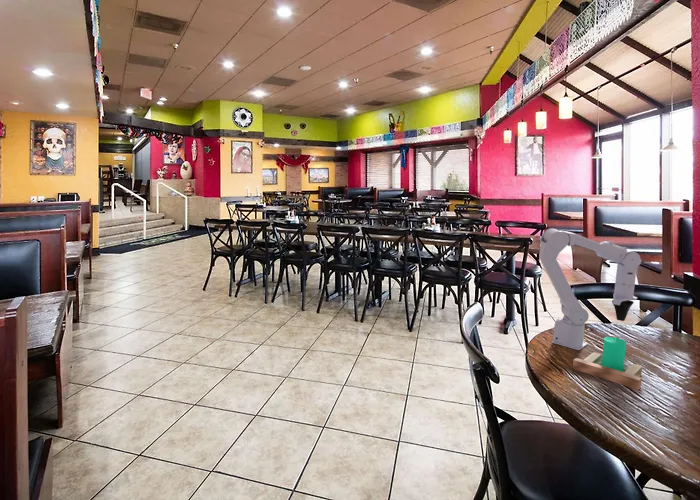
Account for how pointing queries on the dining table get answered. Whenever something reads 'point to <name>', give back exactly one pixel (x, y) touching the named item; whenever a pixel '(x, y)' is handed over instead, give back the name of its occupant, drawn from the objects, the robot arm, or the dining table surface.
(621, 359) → the candle
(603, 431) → the dining table surface
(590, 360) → the stand
